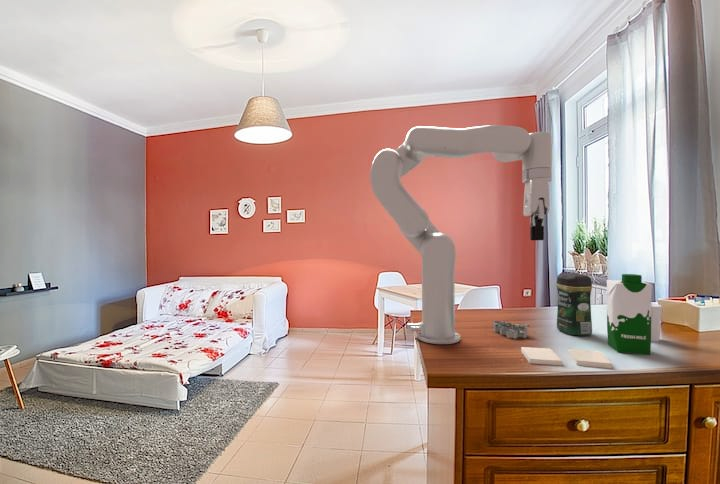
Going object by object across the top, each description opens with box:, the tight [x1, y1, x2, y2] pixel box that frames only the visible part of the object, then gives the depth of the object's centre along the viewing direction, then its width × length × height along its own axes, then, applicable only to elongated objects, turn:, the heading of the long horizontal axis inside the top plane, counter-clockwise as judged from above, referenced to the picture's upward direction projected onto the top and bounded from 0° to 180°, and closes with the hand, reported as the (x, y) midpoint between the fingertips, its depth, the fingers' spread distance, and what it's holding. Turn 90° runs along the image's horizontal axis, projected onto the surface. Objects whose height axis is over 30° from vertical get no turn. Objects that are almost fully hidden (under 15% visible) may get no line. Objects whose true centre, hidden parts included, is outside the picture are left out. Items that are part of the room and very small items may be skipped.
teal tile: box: [520, 346, 563, 366], centre depth 86 cm, size 7×2×9 cm
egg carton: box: [491, 320, 530, 339], centre depth 107 cm, size 10×7×4 cm
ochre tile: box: [567, 348, 613, 369], centre depth 84 cm, size 7×2×9 cm
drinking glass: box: [651, 302, 662, 343], centre depth 101 cm, size 7×7×10 cm
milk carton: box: [606, 273, 653, 356], centre depth 91 cm, size 9×9×20 cm
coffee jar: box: [556, 272, 593, 337], centre depth 108 cm, size 10×8×19 cm
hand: (537, 240), depth 100 cm, fingers closed
